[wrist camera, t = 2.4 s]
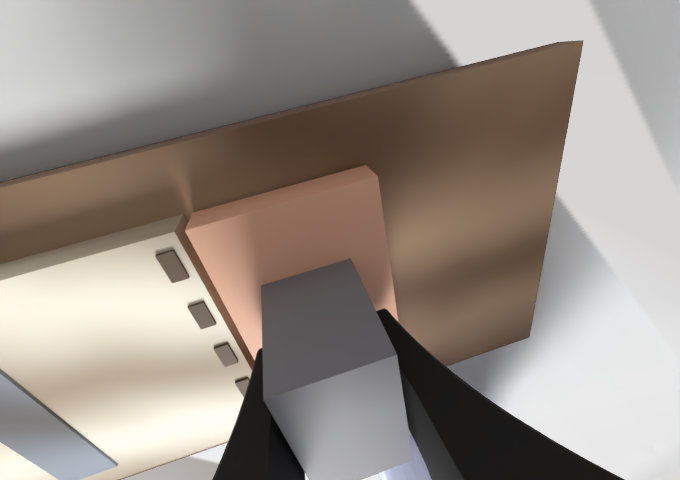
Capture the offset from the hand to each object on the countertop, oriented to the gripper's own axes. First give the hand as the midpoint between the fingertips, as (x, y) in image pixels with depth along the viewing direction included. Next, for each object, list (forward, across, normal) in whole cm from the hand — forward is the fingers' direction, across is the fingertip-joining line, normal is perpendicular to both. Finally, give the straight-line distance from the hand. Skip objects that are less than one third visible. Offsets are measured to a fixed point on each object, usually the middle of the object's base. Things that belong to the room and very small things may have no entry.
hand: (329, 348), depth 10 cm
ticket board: (+3, +2, 0) cm, 4 cm away
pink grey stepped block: (+2, 0, 0) cm, 2 cm away
